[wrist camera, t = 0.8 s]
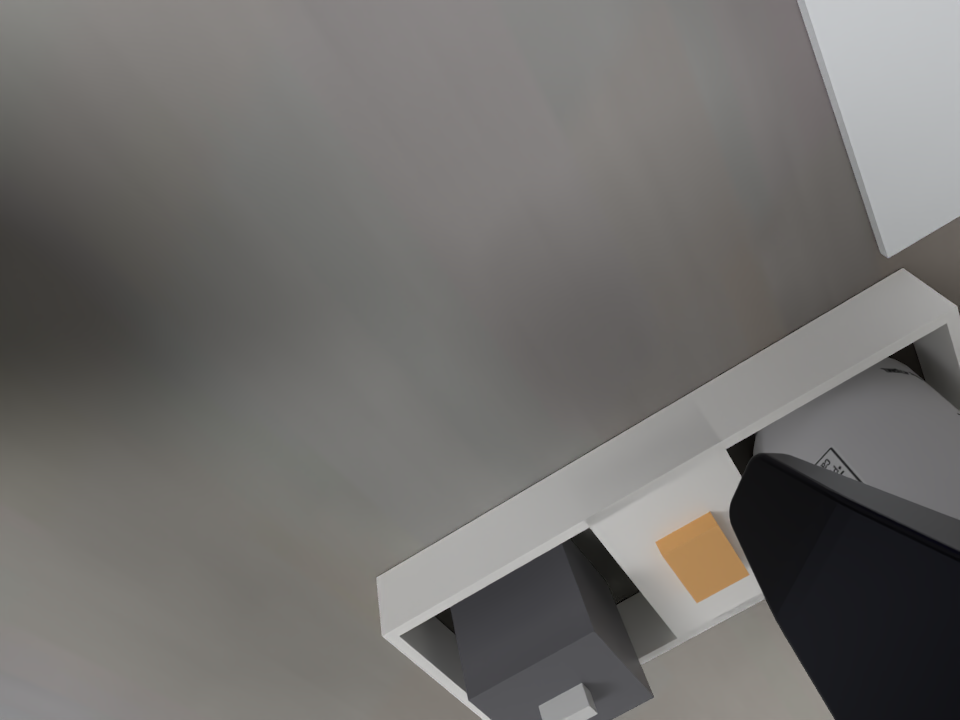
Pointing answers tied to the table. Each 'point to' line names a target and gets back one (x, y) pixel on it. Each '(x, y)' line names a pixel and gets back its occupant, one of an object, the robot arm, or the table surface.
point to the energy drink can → (879, 435)
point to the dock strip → (668, 487)
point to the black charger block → (548, 644)
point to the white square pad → (895, 107)
